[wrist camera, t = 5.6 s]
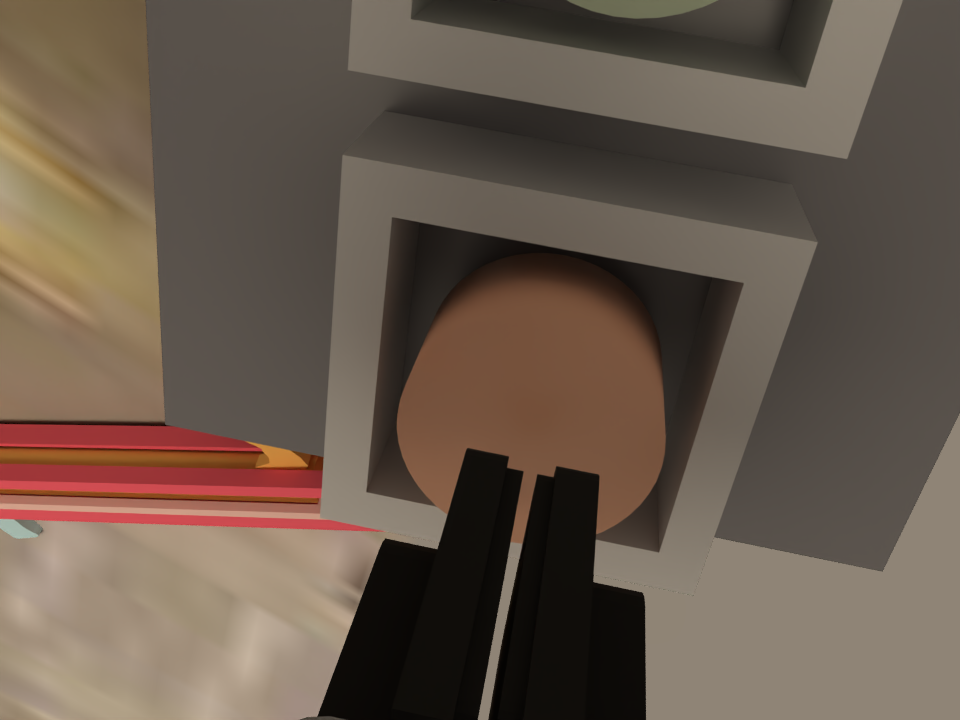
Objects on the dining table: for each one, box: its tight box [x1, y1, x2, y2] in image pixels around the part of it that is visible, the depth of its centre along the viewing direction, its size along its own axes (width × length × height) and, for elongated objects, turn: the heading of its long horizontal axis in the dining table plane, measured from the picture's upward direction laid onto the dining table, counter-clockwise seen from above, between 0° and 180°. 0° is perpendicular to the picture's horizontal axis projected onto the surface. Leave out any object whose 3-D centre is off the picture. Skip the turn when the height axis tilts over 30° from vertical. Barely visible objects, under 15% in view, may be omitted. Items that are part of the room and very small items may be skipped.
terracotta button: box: [397, 253, 666, 544], centre depth 15 cm, size 4×4×2 cm
